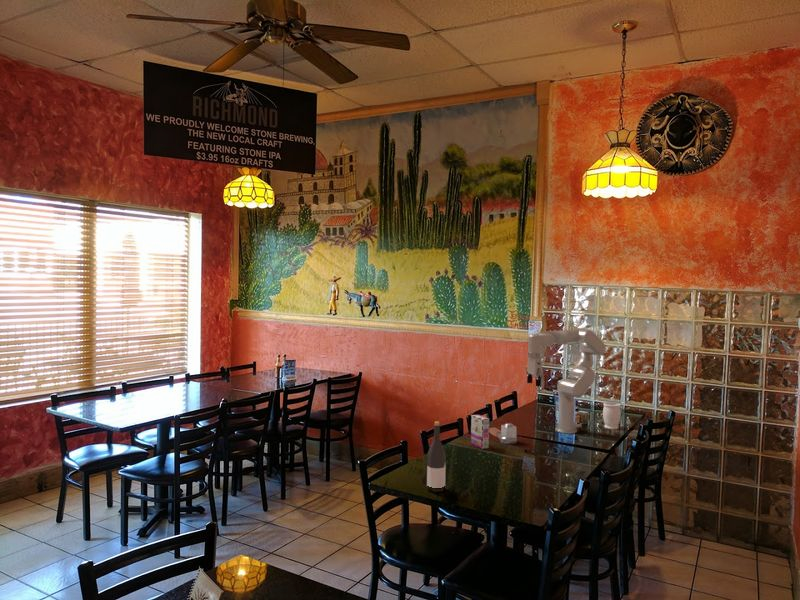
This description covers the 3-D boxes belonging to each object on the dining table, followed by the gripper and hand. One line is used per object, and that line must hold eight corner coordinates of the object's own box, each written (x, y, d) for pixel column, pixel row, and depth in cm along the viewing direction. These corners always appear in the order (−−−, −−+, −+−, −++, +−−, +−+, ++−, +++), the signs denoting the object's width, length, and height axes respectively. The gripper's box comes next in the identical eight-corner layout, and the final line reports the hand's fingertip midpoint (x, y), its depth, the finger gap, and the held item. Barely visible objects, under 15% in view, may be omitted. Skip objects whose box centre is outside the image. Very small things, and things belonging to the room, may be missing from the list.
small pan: (498, 431, 355) (498, 419, 355) (519, 443, 330) (519, 431, 330) (484, 432, 352) (484, 420, 352) (504, 444, 328) (505, 432, 327)
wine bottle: (425, 486, 263) (426, 419, 262) (443, 486, 264) (444, 419, 262) (427, 493, 255) (428, 424, 254) (446, 492, 256) (447, 424, 254)
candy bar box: (489, 448, 321) (490, 418, 320) (481, 449, 319) (482, 419, 318) (477, 443, 331) (478, 414, 330) (470, 444, 329) (470, 414, 328)
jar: (621, 430, 361) (622, 406, 360) (604, 429, 363) (604, 405, 362) (618, 425, 371) (619, 402, 371) (601, 425, 373) (601, 401, 372)
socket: (511, 434, 337) (511, 422, 337) (516, 437, 331) (516, 425, 331) (501, 435, 335) (501, 423, 335) (506, 438, 329) (506, 425, 329)
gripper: (548, 357, 337) (547, 387, 338) (532, 353, 354) (532, 381, 355) (536, 357, 335) (535, 387, 336) (521, 353, 352) (520, 382, 352)
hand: (533, 384), depth 345 cm, fingers open, 9 cm apart
